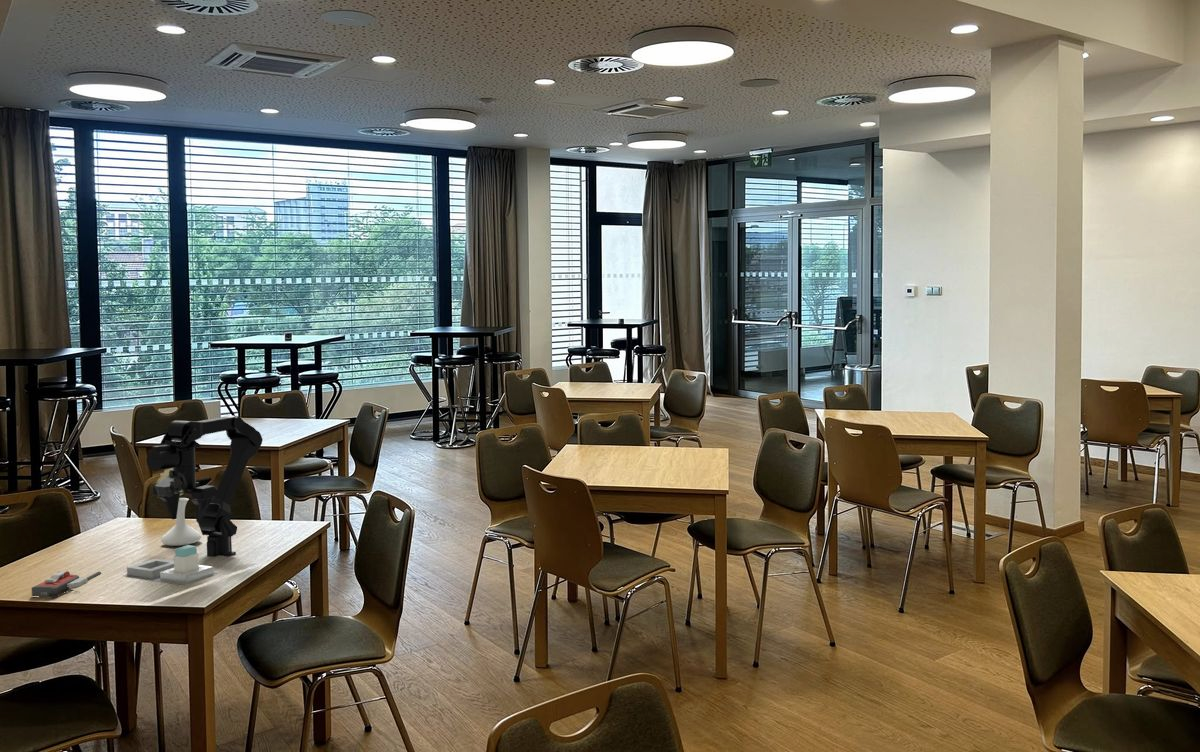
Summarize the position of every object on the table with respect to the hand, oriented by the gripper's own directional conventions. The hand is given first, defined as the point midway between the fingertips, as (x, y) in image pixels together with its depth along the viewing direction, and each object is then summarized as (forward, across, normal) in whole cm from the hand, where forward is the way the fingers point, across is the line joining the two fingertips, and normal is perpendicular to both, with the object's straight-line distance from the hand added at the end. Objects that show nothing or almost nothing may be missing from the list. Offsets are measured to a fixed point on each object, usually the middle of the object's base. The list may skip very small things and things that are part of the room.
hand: (186, 520), depth 274 cm
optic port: (+13, +10, -10) cm, 19 cm away
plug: (+12, +10, -10) cm, 19 cm away
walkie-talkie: (+14, -14, -27) cm, 33 cm away
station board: (+13, +4, -10) cm, 17 cm away
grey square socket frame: (+13, -2, -10) cm, 17 cm away
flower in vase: (+13, -21, +17) cm, 30 cm away
